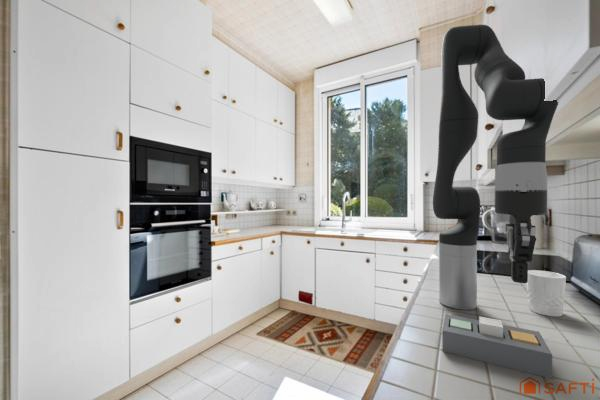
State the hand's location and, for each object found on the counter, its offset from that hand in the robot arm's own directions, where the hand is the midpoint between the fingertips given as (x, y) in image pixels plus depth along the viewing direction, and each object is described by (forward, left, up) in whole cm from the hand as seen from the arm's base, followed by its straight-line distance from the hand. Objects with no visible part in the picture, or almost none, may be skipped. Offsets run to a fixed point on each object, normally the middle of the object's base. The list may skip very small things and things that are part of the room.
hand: (519, 281), depth 51 cm
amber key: (0, +1, -12) cm, 12 cm away
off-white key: (0, -4, -10) cm, 11 cm away
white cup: (-31, +10, -14) cm, 35 cm away
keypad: (0, -4, -14) cm, 15 cm away
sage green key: (0, -9, -12) cm, 15 cm away
